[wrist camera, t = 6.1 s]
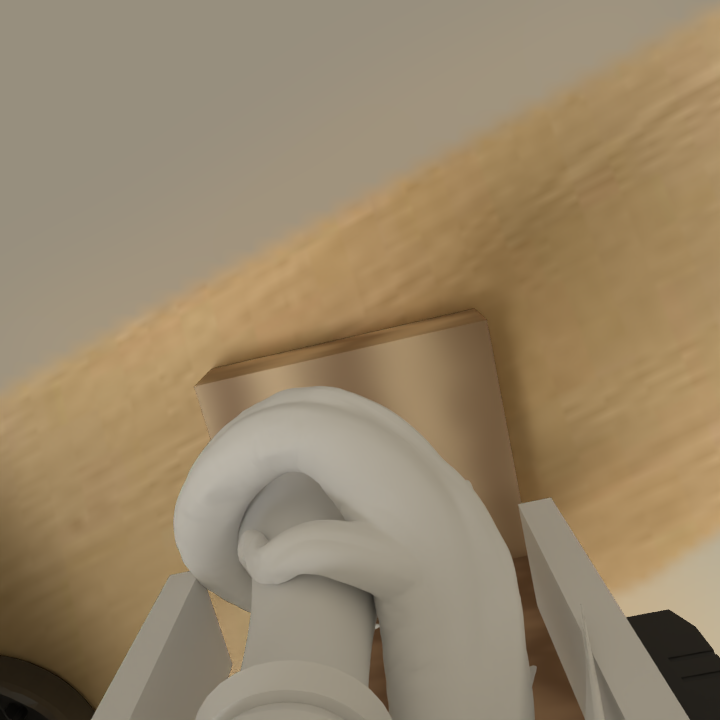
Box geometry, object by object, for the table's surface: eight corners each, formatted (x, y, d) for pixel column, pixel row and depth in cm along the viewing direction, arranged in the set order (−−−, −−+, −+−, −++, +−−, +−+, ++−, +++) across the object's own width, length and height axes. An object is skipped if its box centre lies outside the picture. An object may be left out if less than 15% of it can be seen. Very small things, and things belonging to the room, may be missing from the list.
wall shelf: (280, 594, 37) (217, 866, 22) (211, 368, 34) (78, 503, 18) (520, 545, 36) (633, 796, 21) (474, 308, 33) (568, 396, 17)
